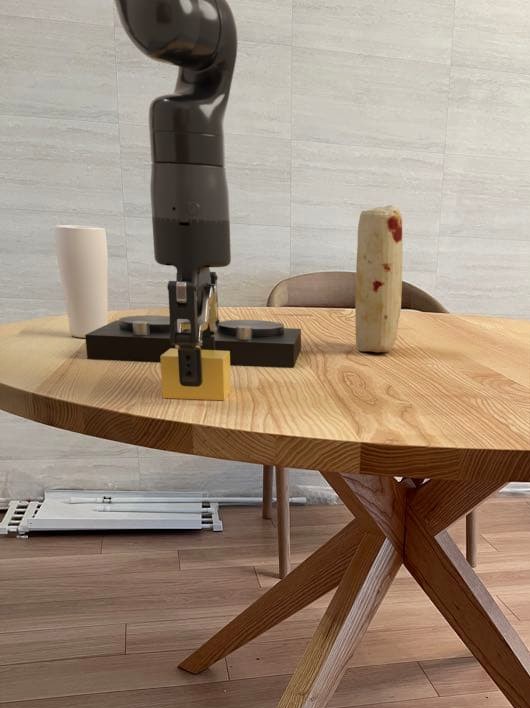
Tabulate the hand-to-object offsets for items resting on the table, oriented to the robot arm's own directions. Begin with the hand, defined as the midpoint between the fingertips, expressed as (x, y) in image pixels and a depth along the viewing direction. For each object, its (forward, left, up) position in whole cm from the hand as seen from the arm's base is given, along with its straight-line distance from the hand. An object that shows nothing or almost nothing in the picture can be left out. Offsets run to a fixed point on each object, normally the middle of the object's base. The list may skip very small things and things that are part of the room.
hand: (198, 377), depth 88 cm
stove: (-4, +25, -2) cm, 25 cm away
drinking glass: (-22, +36, -2) cm, 42 cm away
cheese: (0, 0, -2) cm, 2 cm away
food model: (+20, +34, -2) cm, 39 cm away
